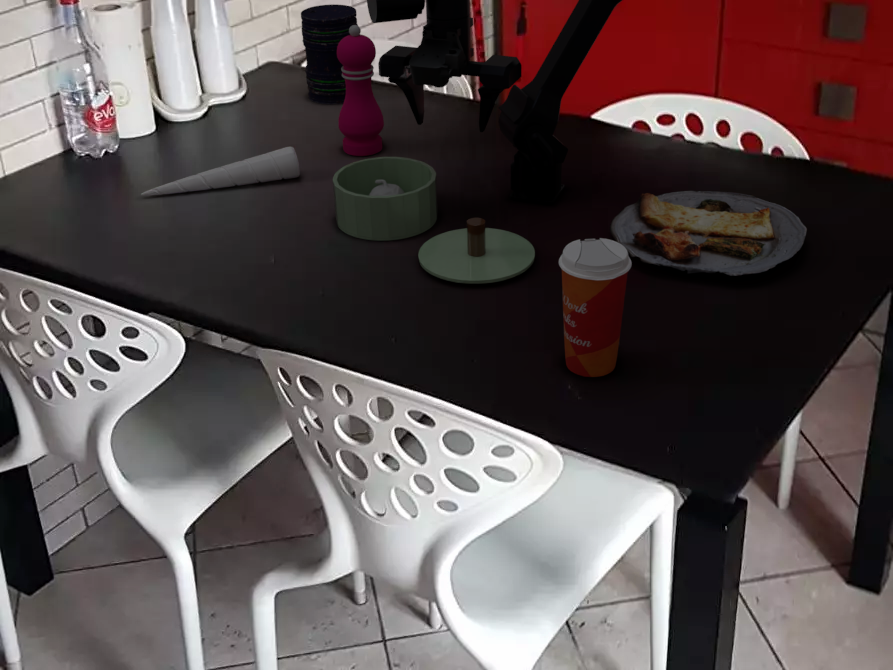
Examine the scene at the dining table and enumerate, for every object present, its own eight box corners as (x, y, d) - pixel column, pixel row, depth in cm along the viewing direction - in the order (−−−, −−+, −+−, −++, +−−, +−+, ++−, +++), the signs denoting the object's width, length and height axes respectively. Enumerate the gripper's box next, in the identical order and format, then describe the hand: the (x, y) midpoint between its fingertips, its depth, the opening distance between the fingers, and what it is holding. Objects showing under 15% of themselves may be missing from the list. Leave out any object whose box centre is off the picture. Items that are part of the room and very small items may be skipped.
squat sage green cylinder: (452, 205, 167) (451, 163, 164) (413, 247, 156) (411, 203, 153) (363, 192, 172) (360, 151, 169) (318, 232, 161) (315, 189, 158)
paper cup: (551, 348, 133) (553, 237, 126) (617, 343, 133) (623, 233, 126) (562, 385, 126) (565, 271, 119) (632, 380, 127) (639, 266, 120)
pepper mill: (379, 158, 183) (371, 32, 173) (334, 156, 184) (324, 31, 174) (390, 142, 189) (383, 19, 179) (347, 139, 190) (338, 17, 180)
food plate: (590, 267, 150) (591, 243, 148) (633, 196, 168) (635, 174, 166) (790, 297, 141) (793, 272, 140) (812, 219, 160) (816, 196, 158)
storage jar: (369, 87, 213) (364, 5, 205) (353, 105, 204) (347, 20, 197) (317, 84, 215) (310, 3, 207) (299, 102, 207) (291, 18, 199)
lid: (549, 244, 156) (550, 205, 153) (512, 296, 144) (512, 255, 141) (444, 228, 161) (443, 190, 158) (400, 277, 149) (397, 237, 146)
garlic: (361, 212, 165) (358, 178, 162) (394, 203, 167) (393, 170, 165) (380, 228, 161) (377, 193, 158) (414, 218, 163) (413, 184, 160)
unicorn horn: (140, 188, 176) (135, 158, 173) (297, 170, 180) (295, 141, 178) (140, 200, 172) (135, 170, 169) (301, 182, 176) (298, 152, 174)
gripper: (357, 25, 149) (364, 140, 157) (493, 37, 143) (494, 156, 151) (392, 3, 158) (398, 113, 166) (523, 13, 152) (522, 127, 160)
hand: (451, 127), depth 161 cm, fingers open, 9 cm apart
